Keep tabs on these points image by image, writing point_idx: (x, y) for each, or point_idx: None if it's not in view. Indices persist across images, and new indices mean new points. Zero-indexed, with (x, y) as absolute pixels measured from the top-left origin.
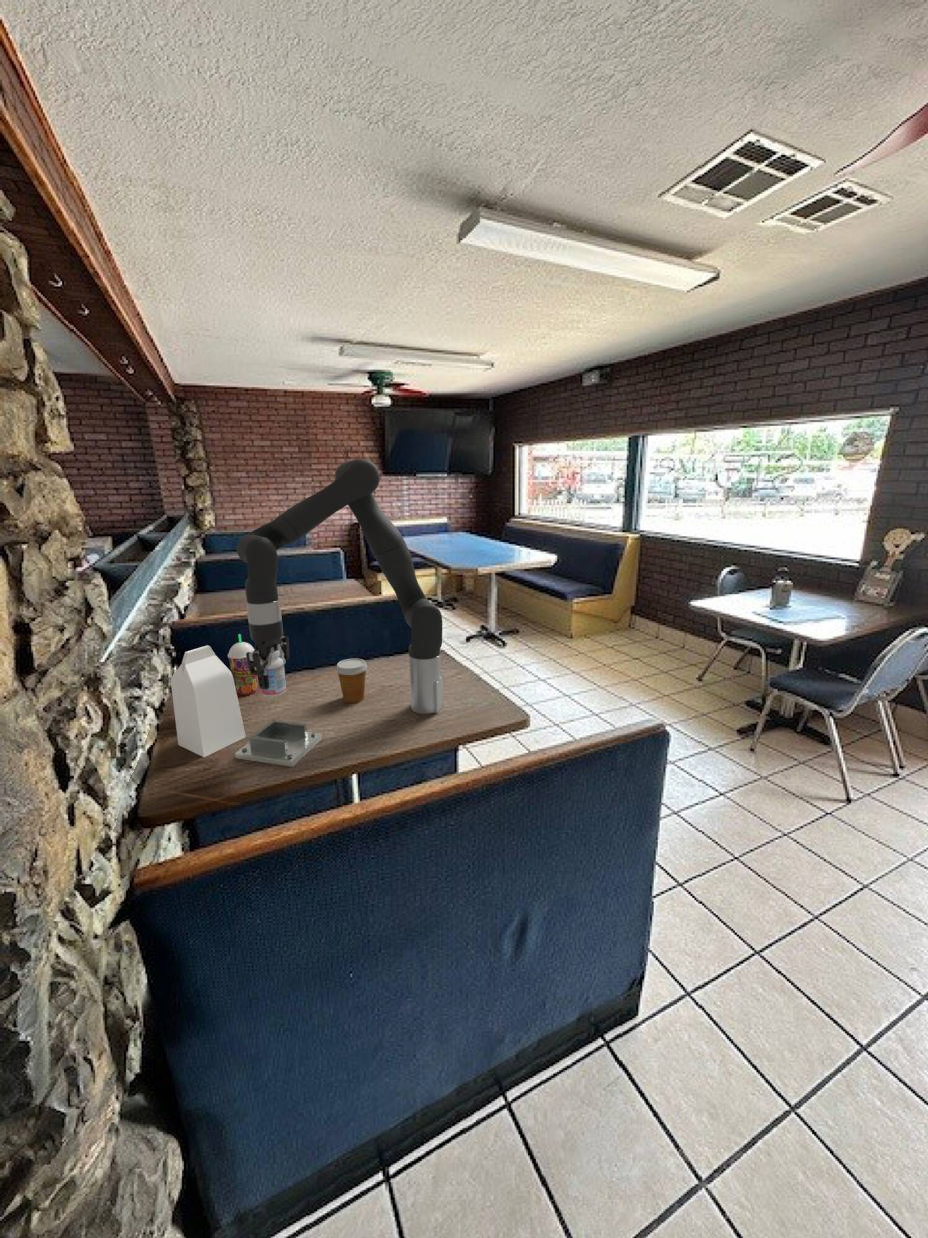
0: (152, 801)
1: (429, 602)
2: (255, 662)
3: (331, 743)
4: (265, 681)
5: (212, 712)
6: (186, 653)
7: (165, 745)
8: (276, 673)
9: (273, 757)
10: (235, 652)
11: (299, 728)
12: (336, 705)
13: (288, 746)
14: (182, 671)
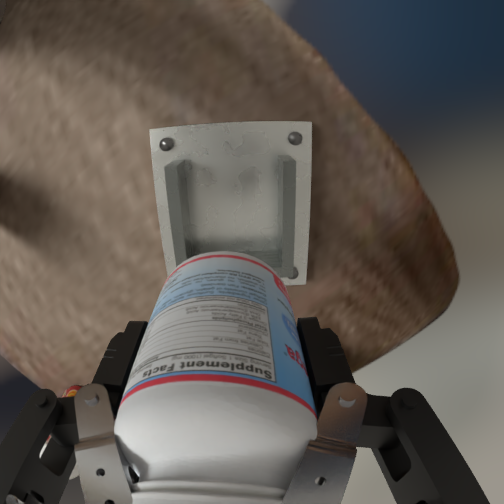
0: (434, 306)
1: None
2: (466, 477)
3: (168, 88)
4: (327, 355)
5: None
6: None
7: None
8: (268, 352)
9: (305, 182)
10: (73, 470)
11: (180, 182)
12: (15, 210)
13: (243, 176)
14: None
